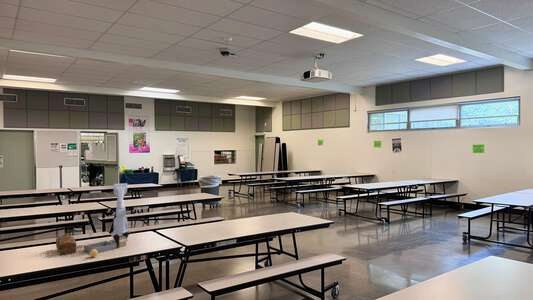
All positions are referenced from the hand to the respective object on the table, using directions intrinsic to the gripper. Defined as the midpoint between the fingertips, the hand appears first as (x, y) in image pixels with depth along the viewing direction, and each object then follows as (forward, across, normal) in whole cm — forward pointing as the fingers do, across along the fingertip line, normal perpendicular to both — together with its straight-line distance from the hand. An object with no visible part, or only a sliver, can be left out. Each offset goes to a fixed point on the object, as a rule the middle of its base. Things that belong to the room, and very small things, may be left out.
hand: (120, 244), depth 252 cm
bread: (+2, -29, +20) cm, 35 cm away
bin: (+2, -13, +4) cm, 14 cm away
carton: (+2, 0, 0) cm, 2 cm away
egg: (+2, -25, -9) cm, 27 cm away
